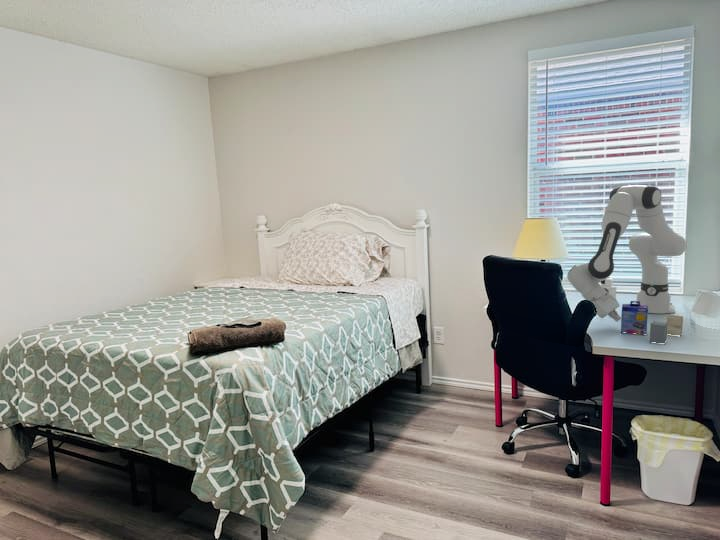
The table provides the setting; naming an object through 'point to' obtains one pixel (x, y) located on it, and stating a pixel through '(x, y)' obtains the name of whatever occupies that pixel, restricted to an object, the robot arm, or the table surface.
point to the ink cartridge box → (634, 318)
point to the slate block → (658, 332)
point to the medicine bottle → (609, 286)
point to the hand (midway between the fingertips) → (619, 320)
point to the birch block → (674, 324)
